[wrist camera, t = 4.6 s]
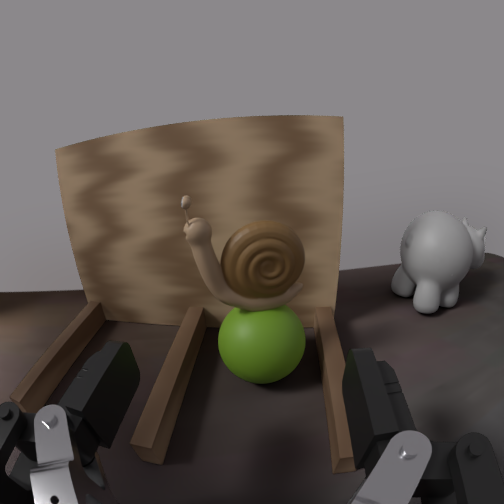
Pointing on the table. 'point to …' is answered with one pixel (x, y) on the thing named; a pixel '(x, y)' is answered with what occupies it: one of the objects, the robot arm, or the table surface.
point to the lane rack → (180, 253)
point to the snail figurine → (254, 295)
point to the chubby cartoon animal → (437, 259)
